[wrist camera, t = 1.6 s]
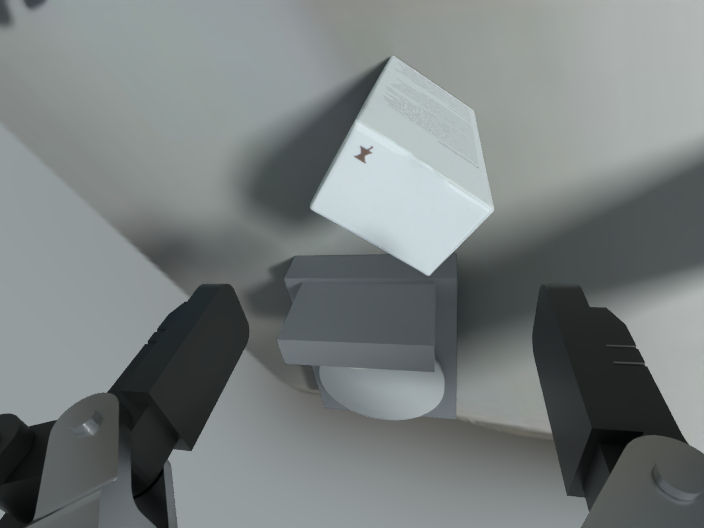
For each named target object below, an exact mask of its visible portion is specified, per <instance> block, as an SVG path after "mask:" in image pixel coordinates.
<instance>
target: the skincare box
mask: <svg viewBox="0 0 704 528" xmlns="http://www.w3.org/2000/svg"><path fill="white" fill-rule="evenodd" d="M310 209H311V210H312V211H314V212H316V213H318V214H320V215H321V216H323V217H325V218H327V219H328V220H330V221H332V222H334V223H335V224H337V225H339V226H341V227H342V228H344V229H346V230H348V231H349V232H351V233H353V234H355V235H357V236H358V237H360V238H362V239H364V240H366V241H367V242H369V243H371V244H373V245H375V246H376V247H378V248H380V249H382V250H384V251H385V252H387V253H389V254H391V255H392V256H394V257H396V258H398V259H399V260H401V261H403V262H405V263H406V264H408V265H410V266H412V267H413V268H415V269H417V270H419V271H420V272H422V273H424V274H425V275H427V276H430V275H431V274H432V273H433V271H434V270H435V269H436V268H437V267H438V266H439V265H440V264H441V263H442V262H443V261H444V260H446V259H447V258H448V257H449V256H450V255H451V254H452V253H453V252H454V251H455V250H456V249H457V248H458V247H459V246H460V245H461V244H462V243H463V242H464V241H465V240H466V239H467V238H468V237H469V236H470V235H471V234H472V233H473V232H474V231H475V230H476V229H477V228H478V227H479V226H480V225H481V224H482V222H483V221H484V220H485V219H486V218H487V217H488V216H489V215H490V214H491V213H492V212H493V211H494V205H493V201H492V197H491V191H490V186H489V182H488V178H487V173H486V168H485V163H484V158H483V153H482V148H481V144H480V138H479V134H478V129H477V124H476V119H475V114H474V110H472V109H471V108H469V107H468V106H466V105H465V104H464V103H462V102H461V101H459V100H458V99H456V98H455V97H453V96H452V95H450V94H449V93H447V92H446V91H444V90H443V89H441V88H440V87H439V86H437V85H436V84H434V83H433V82H431V81H430V80H428V79H427V78H425V77H424V76H423V75H421V74H420V73H418V72H417V71H415V70H414V69H412V68H411V67H409V66H408V65H406V64H405V63H403V62H402V61H400V60H399V59H398V58H396V57H395V56H391V57H390V59H389V60H388V62H387V64H386V65H385V67H384V69H383V71H382V72H381V74H380V76H379V78H378V79H377V81H376V83H375V85H374V86H373V88H372V90H371V92H370V93H369V95H368V97H367V99H366V101H365V102H364V104H363V106H362V108H361V110H360V112H359V113H358V115H357V117H356V119H355V121H354V123H353V125H352V126H351V128H350V130H349V132H348V134H347V136H346V138H345V139H344V141H343V143H342V145H341V147H340V149H339V150H338V152H337V154H336V156H335V158H334V160H333V161H332V163H331V165H330V167H329V169H328V171H327V173H326V174H325V176H324V178H323V180H322V182H321V184H320V186H319V188H318V190H317V192H316V193H315V195H314V197H313V199H312V201H311V204H310Z"/></svg>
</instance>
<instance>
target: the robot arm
mask: <svg viewBox="0 0 704 528" xmlns="http://www.w3.org/2000/svg"><path fill="white" fill-rule="evenodd" d="M248 338H249V325H248V321H247V319H246V317H245V314H244V312H243V310H242V307H241V305H240V302H239V300H238V298H237V295H236V293H235V291H234V289H233V287H232V286H231V285H229V284H202V285H200V286H199V287H198V288H197V289H196V291H195V292H194V293H193V295H192V296H191V297H190V299H189V300H188V301H187V302H184V303H183V304H182V305H180V306H179V307H178V308H176V309H175V310H174V311H173V312H171V313H170V314H169V315H168V316H167V317H166V319H165V320H164V321H163V322H162V324H161V325H160V326H159V328H158V329H157V332H155V333H154V334H153V335H152V336H151V338H150V339H149V340H148V344H145V345H144V347H143V348H142V349H141V350H140V352H139V353H138V354H137V355H136V357H135V358H134V359H133V360H132V362H131V363H130V364H129V366H128V367H127V368H126V369H125V371H124V372H123V373H122V375H121V376H120V377H119V378H118V380H117V381H116V382H115V383H114V385H113V386H112V387H111V388H110V390H109V391H108V392H107V393H97V394H93V395H91V396H88V397H86V398H84V399H82V400H80V401H78V402H77V403H75V404H74V405H73V406H71V407H70V408H69V409H67V410H66V411H65V412H64V413H63V414H62V415H61V416H60V418H59V419H58V420H55V421H50V422H46V423H42V424H38V425H33V426H29V427H28V426H27V425H26V424H25V423H24V422H23V421H21V420H20V419H19V418H18V417H17V416H16V415H13V414H1V415H0V509H1V510H3V511H4V512H6V513H5V514H4V516H3V517H2V518H1V520H0V528H178V527H177V517H176V508H175V499H174V489H173V479H172V470H171V464H170V462H169V461H168V457H169V455H170V454H171V452H172V450H173V449H178V450H186V451H192V449H193V447H194V445H195V443H196V441H197V439H198V437H199V435H200V434H201V432H202V430H203V428H204V426H205V424H206V422H207V420H208V418H209V416H210V414H211V412H212V410H213V408H214V406H215V405H216V403H217V401H218V399H219V397H220V395H221V393H222V391H223V389H224V387H225V385H226V383H227V381H228V379H229V377H230V375H231V373H232V371H233V370H234V368H235V366H236V364H237V362H238V360H239V358H240V356H241V354H242V352H243V350H244V348H245V346H246V344H247V342H248ZM532 343H533V353H534V358H535V363H536V367H537V371H538V375H539V379H540V384H541V388H542V392H543V396H544V400H545V405H546V409H547V413H548V417H549V421H550V426H551V430H552V434H553V438H554V442H555V447H556V451H557V454H558V459H559V463H560V467H561V472H562V476H563V480H564V484H565V488H566V493H567V496H576V497H585V498H586V501H587V505H588V509H589V514H588V515H587V517H586V519H585V521H584V523H583V524H582V526H581V528H704V454H703V453H702V452H701V451H699V450H697V449H696V448H694V447H692V446H690V445H689V444H688V443H687V442H686V440H685V438H684V437H683V435H682V433H681V431H680V430H679V428H678V426H677V424H676V422H675V420H674V418H673V416H672V414H671V412H670V410H669V408H668V406H667V404H666V402H665V400H664V398H663V397H662V395H661V393H660V391H659V389H658V387H657V385H656V383H655V381H654V379H653V377H652V375H651V373H650V371H649V369H648V367H647V366H645V364H644V363H645V362H644V360H643V358H642V356H641V354H640V352H639V350H638V349H636V344H635V342H634V340H633V338H632V336H631V334H630V332H629V330H628V329H627V327H626V325H625V324H624V323H623V322H622V321H621V320H620V319H618V318H617V317H616V316H615V315H614V314H613V313H612V312H611V311H609V310H608V309H607V308H600V307H589V305H588V302H587V300H586V298H585V296H584V293H583V291H582V289H581V287H580V286H579V285H542V286H541V288H540V291H539V297H538V303H537V309H536V315H535V321H534V327H533V335H532Z"/></svg>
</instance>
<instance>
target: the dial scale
mask: <svg viewBox="0 0 704 528" xmlns="http://www.w3.org/2000/svg"><path fill="white" fill-rule="evenodd" d="M284 281H285V284H286V287H287V291H288V294H289V297H290V300H291V303H292V306H291V308H290V311H289V313H288V315H287V317H286V319H285V322H284V324H283V326H282V328H281V330H280V333H279V335H278V337H277V339H276V340H277V343H278V345H279V348H280V351H281V353H282V356H283V359H284V361H285V364H297V365H311V366H312V369H313V372H314V375H315V378H316V381H317V385H318V388H319V391H320V394H321V397H322V400H323V403H324V406H325V408H329V409H342V410H352V411H354V412H356V413H359V414H362V415H365V416H368V417H372V418H378V419H385V420H404V419H411V418H416V417H418V416H425V417H437V418H449V419H456V379H457V258H456V254H451V255H450V256H449V257H448V258H447V259H446V260H444V261H443V262H442V263H441V264H440V265H439V266H438V267H437V268H436V269H435V270H434V271H433V273H432V274H431V275H430V276H427V275H425V274H424V273H422V272H420V271H419V270H417V269H415V268H413V267H412V266H410V265H408V264H406V263H405V262H403V261H401V260H399V259H398V258H396V257H394V256H392V255H335V256H295V258H294V260H293V261H292V263H291V265H290V267H289V269H288V271H287V273H286V275H285V277H284Z"/></svg>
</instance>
